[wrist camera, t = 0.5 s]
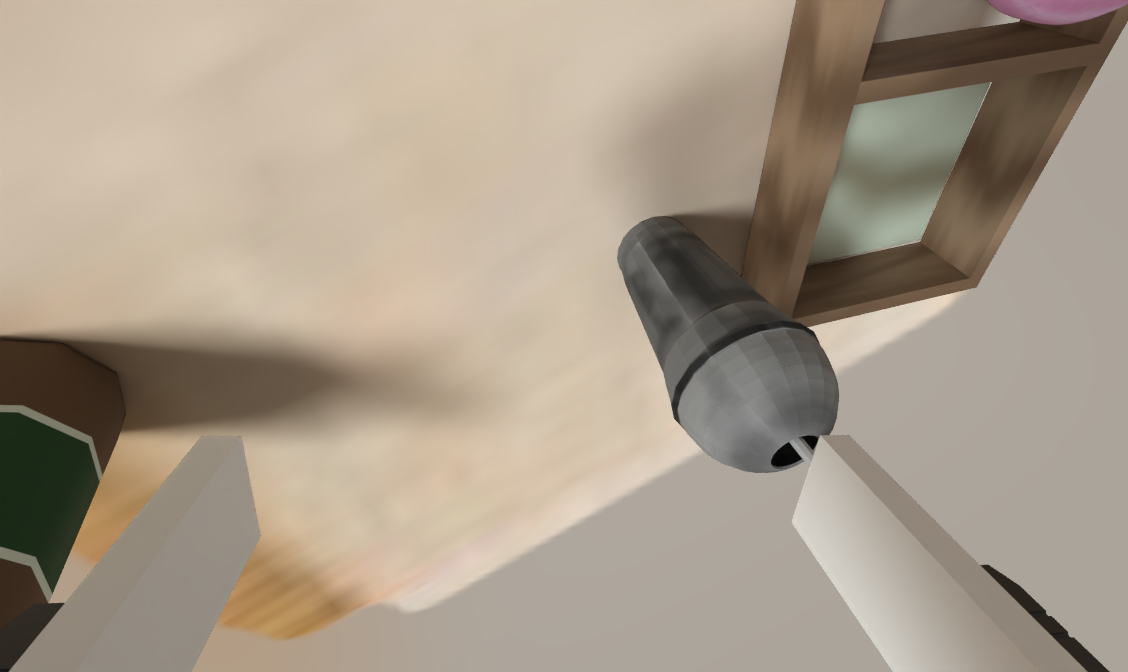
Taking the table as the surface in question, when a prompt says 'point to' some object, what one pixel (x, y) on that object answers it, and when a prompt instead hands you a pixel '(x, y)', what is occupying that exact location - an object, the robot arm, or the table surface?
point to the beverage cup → (727, 353)
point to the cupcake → (1056, 9)
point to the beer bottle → (48, 461)
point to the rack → (906, 153)
